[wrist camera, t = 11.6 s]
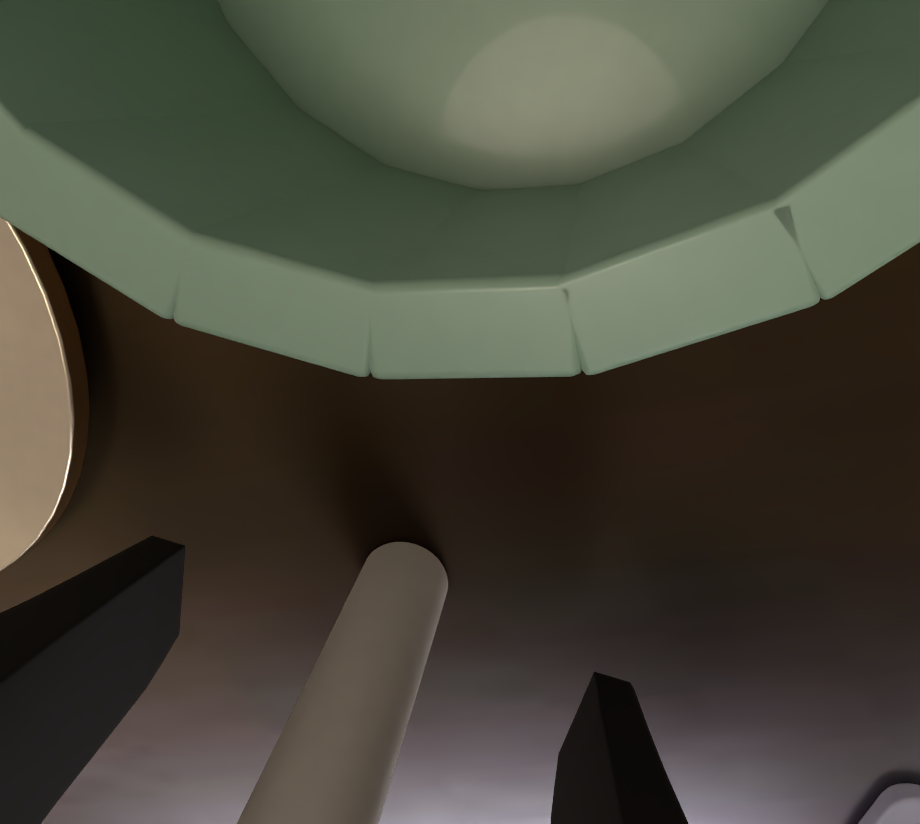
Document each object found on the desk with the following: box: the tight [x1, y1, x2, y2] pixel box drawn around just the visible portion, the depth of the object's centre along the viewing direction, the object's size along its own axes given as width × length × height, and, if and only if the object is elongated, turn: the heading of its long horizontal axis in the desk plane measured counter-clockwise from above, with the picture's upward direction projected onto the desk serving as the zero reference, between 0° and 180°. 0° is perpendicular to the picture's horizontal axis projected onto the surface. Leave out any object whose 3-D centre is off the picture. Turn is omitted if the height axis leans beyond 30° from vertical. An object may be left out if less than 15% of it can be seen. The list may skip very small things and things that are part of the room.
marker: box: [237, 542, 448, 824], centre depth 10 cm, size 2×2×8 cm
